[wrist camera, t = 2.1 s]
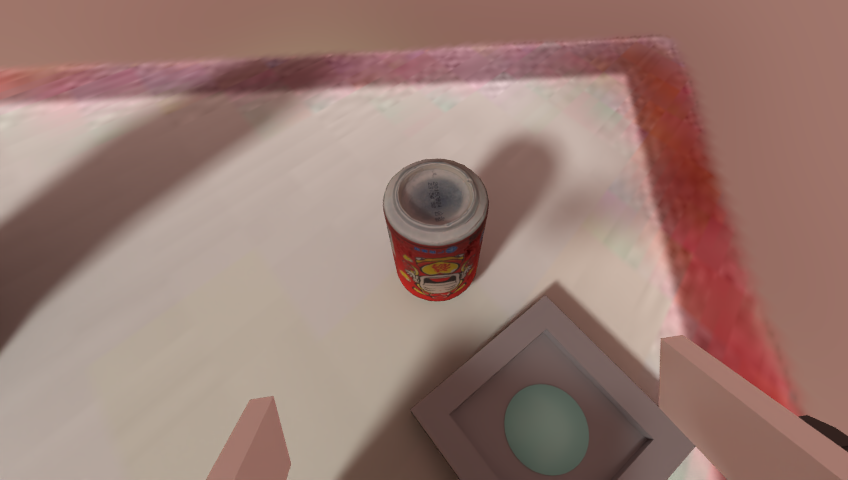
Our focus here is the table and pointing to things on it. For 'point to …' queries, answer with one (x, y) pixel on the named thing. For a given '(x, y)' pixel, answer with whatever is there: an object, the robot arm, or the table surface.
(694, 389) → the robot arm
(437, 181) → the soda can
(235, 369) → the table surface
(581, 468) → the tray
